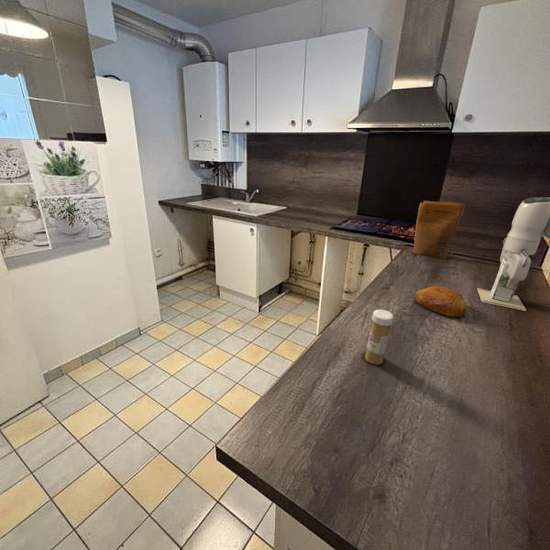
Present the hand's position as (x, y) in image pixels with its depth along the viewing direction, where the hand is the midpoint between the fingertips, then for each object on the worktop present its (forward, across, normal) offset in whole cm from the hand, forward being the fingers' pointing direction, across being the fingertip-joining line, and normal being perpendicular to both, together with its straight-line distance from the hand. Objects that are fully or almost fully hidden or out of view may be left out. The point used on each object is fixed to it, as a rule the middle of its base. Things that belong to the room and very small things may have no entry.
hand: (506, 282), depth 105 cm
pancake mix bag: (+7, +41, +24) cm, 48 cm away
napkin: (+7, 0, 0) cm, 7 cm away
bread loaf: (+7, -18, +20) cm, 28 cm away
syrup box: (+7, 0, 0) cm, 7 cm away
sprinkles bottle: (+7, -58, +36) cm, 69 cm away
